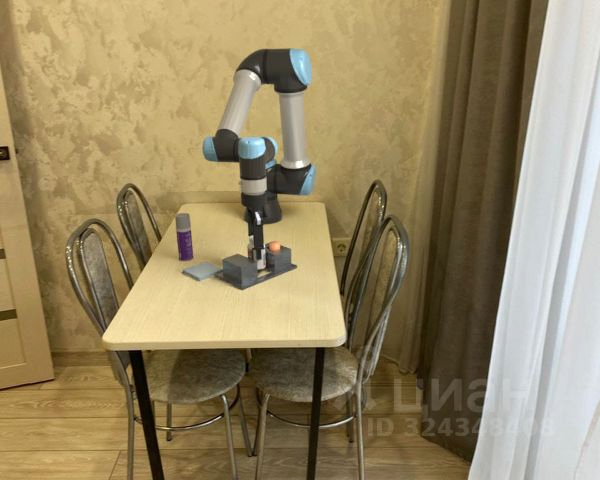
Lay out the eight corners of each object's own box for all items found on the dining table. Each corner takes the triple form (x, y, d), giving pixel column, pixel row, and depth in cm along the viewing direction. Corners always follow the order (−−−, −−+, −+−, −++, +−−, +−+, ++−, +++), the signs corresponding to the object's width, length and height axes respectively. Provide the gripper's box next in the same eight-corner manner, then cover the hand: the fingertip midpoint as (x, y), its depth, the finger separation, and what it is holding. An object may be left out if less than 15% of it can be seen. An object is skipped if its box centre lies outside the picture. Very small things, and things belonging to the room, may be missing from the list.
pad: (206, 264, 174) (206, 261, 173) (223, 272, 168) (223, 269, 167) (182, 272, 168) (182, 269, 167) (199, 281, 162) (199, 277, 161)
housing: (269, 256, 179) (268, 239, 177) (297, 267, 170) (297, 250, 168) (215, 276, 164) (213, 258, 162) (242, 290, 156) (241, 271, 154)
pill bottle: (244, 268, 166) (243, 238, 162) (254, 262, 170) (252, 232, 167) (260, 271, 164) (258, 241, 160) (269, 265, 168) (268, 235, 164)
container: (190, 262, 175) (186, 217, 170) (176, 260, 176) (172, 217, 171) (195, 256, 180) (192, 213, 174) (182, 255, 181) (178, 212, 175)
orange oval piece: (275, 255, 174) (274, 240, 172) (282, 258, 171) (282, 243, 170) (267, 258, 171) (266, 243, 170) (274, 261, 169) (274, 246, 167)
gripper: (236, 184, 166) (240, 254, 174) (246, 201, 149) (250, 278, 158) (260, 182, 167) (263, 252, 176) (273, 199, 151) (275, 275, 159)
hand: (257, 264), depth 167 cm, fingers closed on pill bottle, 5 cm apart
